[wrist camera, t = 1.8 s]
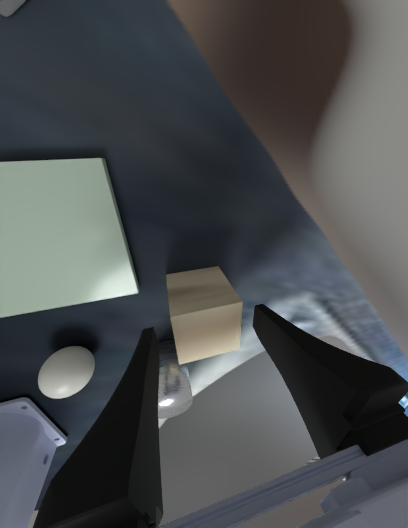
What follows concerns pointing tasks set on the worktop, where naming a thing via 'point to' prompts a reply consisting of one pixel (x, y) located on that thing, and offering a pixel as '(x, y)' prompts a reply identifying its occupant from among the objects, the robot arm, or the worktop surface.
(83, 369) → the offwhite ball
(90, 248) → the sage tile
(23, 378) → the worktop surface
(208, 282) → the maple block
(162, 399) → the clear glass cylinder
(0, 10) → the coffee box
